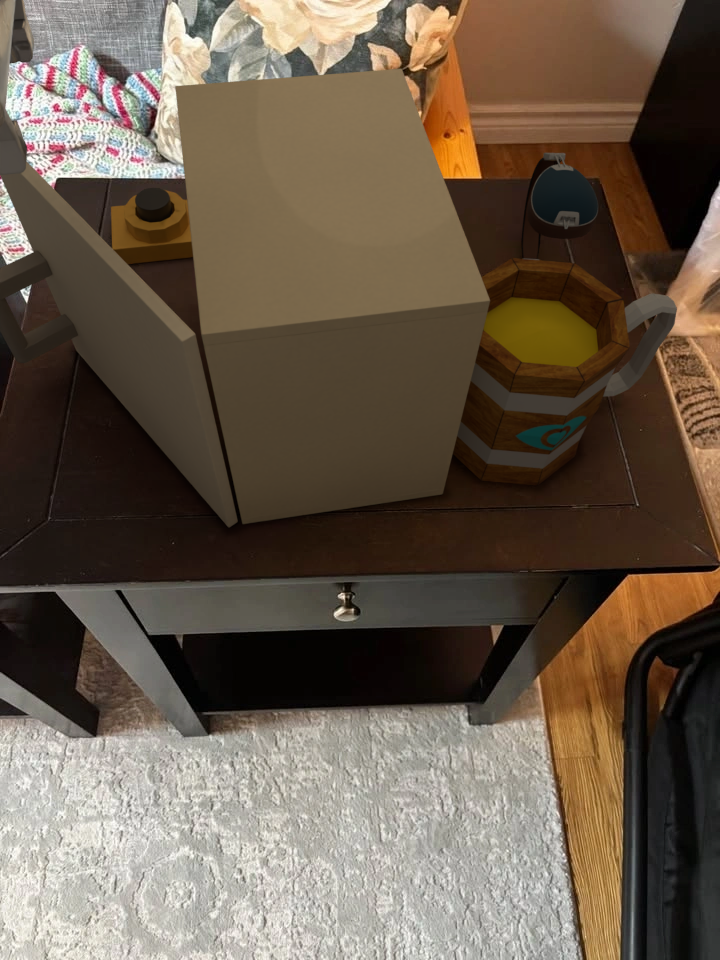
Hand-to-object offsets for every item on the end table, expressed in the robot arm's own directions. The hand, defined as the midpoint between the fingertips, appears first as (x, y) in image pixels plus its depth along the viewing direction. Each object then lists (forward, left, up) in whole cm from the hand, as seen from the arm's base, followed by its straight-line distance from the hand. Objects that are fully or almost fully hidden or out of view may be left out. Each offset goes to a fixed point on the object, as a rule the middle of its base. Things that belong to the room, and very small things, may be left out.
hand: (15, 107), depth 38 cm
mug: (+36, 0, -35) cm, 50 cm away
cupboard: (+16, +6, -35) cm, 39 cm away
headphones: (+41, +15, -35) cm, 55 cm away
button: (+2, +31, -31) cm, 44 cm away
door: (-3, +3, -35) cm, 35 cm away
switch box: (+2, +31, -35) cm, 46 cm away
